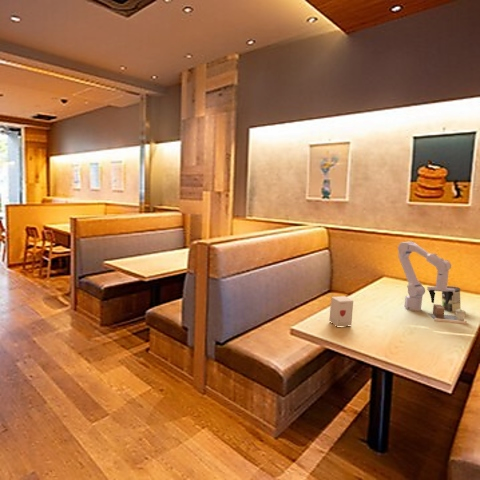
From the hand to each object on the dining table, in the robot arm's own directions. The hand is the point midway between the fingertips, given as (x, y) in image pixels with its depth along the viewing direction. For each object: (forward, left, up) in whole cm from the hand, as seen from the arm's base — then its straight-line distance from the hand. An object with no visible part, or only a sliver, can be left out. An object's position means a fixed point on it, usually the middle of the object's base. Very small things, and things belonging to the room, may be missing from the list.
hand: (439, 303), depth 216 cm
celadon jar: (+10, -5, -8) cm, 14 cm away
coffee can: (+12, +16, -8) cm, 22 cm away
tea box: (0, 0, -8) cm, 8 cm away
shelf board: (+4, -3, -9) cm, 10 cm away
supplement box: (-59, -28, -9) cm, 66 cm away
